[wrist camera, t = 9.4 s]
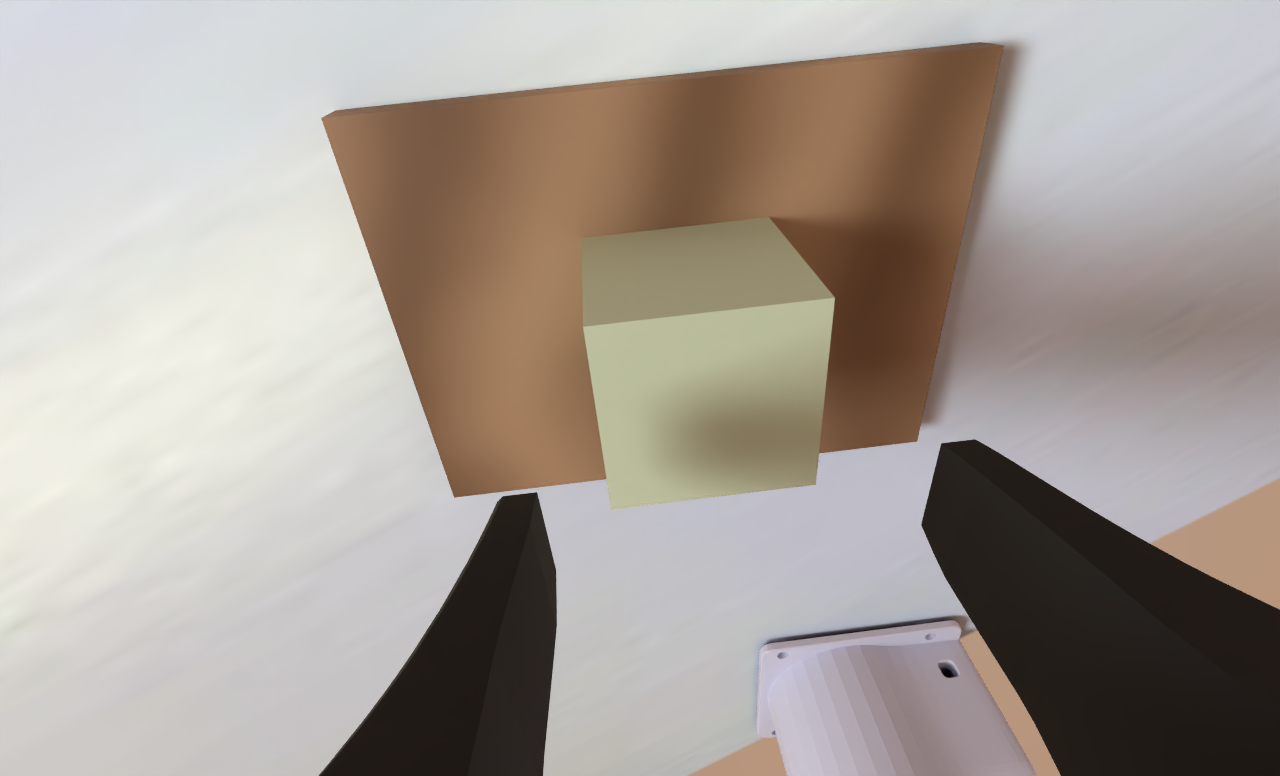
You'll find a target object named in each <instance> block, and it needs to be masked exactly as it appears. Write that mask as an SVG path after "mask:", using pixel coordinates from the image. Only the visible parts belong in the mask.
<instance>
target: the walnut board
mask: <svg viewBox="0 0 1280 776" xmlns="http://www.w3.org/2000/svg"><path fill="white" fill-rule="evenodd" d="M1002 51H1003V46H1001V45H994V44H987V43H981V42H980V43H970V44H961V45H952V46H942V47H933V48H923V49H914V50H904V51H895V52H885V53H876V54H866V55H857V56H847V57H838V58H829V59H819V60H810V61H800V62H791V63H781V64H772V65H762V66H753V67H743V68H734V69H725V70H715V71H706V72H696V73H687V74H677V75H668V76H658V77H649V78H639V79H630V80H621V81H611V82H602V83H592V84H583V85H573V86H564V87H554V88H545V89H535V90H526V91H516V92H507V93H498V94H488V95H479V96H469V97H460V98H450V99H441V100H431V101H422V102H412V103H403V104H394V105H384V106H375V107H365V108H356V109H346V110H337V111H334V112H332V113H330V114H328V115H326V116H325V117H323V118H322V121H323V124H324V127H325V130H326V133H327V136H328V138H329V141H330V144H331V147H332V150H333V153H334V156H335V158H336V161H337V164H338V167H339V170H340V173H341V176H342V178H343V181H344V184H345V187H346V190H347V193H348V195H349V198H350V201H351V204H352V207H353V210H354V213H355V215H356V218H357V221H358V224H359V227H360V230H361V233H362V235H363V238H364V241H365V244H366V247H367V250H368V253H369V255H370V258H371V261H372V264H373V267H374V270H375V273H376V275H377V278H378V281H379V284H380V287H381V290H382V293H383V295H384V298H385V301H386V304H387V307H388V310H389V312H390V315H391V318H392V321H393V324H394V327H395V330H396V332H397V335H398V338H399V341H400V344H401V347H402V350H403V352H404V355H405V358H406V361H407V364H408V367H409V370H410V372H411V375H412V378H413V381H414V384H415V387H416V390H417V392H418V395H419V398H420V401H421V404H422V407H423V410H424V412H425V415H426V418H427V421H428V424H429V427H430V429H431V432H432V435H433V438H434V441H435V444H436V447H437V449H438V452H439V455H440V458H441V461H442V464H443V467H444V469H445V472H446V475H447V478H448V481H449V484H450V487H451V489H452V492H453V495H454V497H462V496H470V495H478V494H487V493H495V492H503V491H511V490H520V489H528V488H536V487H544V486H553V485H561V484H569V483H578V482H586V481H594V480H602V479H607V478H606V472H605V465H604V459H603V452H602V446H601V439H600V433H599V427H598V420H597V414H596V407H595V401H594V394H593V388H592V381H591V375H590V369H589V362H588V356H587V349H586V343H585V336H584V330H583V290H582V238H588V237H597V236H606V235H614V234H623V233H632V232H641V231H650V230H659V229H668V228H677V227H686V226H695V225H704V224H713V223H721V222H730V221H739V220H748V219H757V218H766V217H769V218H770V219H771V220H772V221H773V223H774V224H775V225H776V226H777V228H778V229H779V230H780V231H781V232H782V234H783V235H784V236H785V237H786V239H787V240H788V241H789V242H790V243H791V245H792V246H793V247H794V248H795V250H796V251H797V252H798V253H799V254H800V256H801V257H802V258H803V259H804V260H805V262H806V263H807V264H808V265H809V267H810V268H811V269H812V270H813V271H814V273H815V274H816V275H817V276H818V278H819V279H820V280H821V281H822V282H823V284H824V285H825V286H826V287H827V289H828V290H829V291H830V292H831V293H832V295H833V296H834V297H835V302H834V312H833V322H832V331H831V341H830V351H829V360H828V370H827V380H826V389H825V399H824V409H823V418H822V428H821V438H820V447H819V453H825V452H834V451H842V450H850V449H858V448H867V447H875V446H883V445H891V444H900V443H908V442H916V441H917V440H918V435H919V430H920V426H921V421H922V417H923V412H924V407H925V403H926V398H927V394H928V389H929V385H930V380H931V375H932V371H933V366H934V362H935V357H936V353H937V348H938V343H939V339H940V334H941V330H942V325H943V321H944V316H945V311H946V307H947V302H948V298H949V293H950V289H951V284H952V279H953V275H954V270H955V266H956V261H957V256H958V252H959V247H960V243H961V238H962V234H963V229H964V224H965V220H966V215H967V211H968V206H969V202H970V197H971V192H972V188H973V183H974V179H975V174H976V170H977V165H978V160H979V156H980V151H981V147H982V142H983V137H984V133H985V128H986V124H987V119H988V115H989V110H990V105H991V101H992V96H993V92H994V87H995V83H996V78H997V73H998V69H999V64H1000V60H1001V55H1002Z"/></svg>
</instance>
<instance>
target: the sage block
mask: <svg viewBox="0 0 1280 776" xmlns="http://www.w3.org/2000/svg"><path fill="white" fill-rule="evenodd" d="M582 290H583V330H584V336H585V343H586V349H587V356H588V362H589V369H590V375H591V381H592V388H593V394H594V401H595V407H596V414H597V420H598V427H599V433H600V439H601V446H602V452H603V459H604V465H605V472H606V478H607V485H608V491H609V498H610V504H611V510H612V509H620V508H628V507H636V506H644V505H653V504H661V503H669V502H677V501H685V500H693V499H701V498H710V497H718V496H726V495H734V494H742V493H750V492H759V491H767V490H775V489H783V488H791V487H799V486H808V485H816V476H817V467H818V457H819V447H820V438H821V428H822V418H823V409H824V399H825V389H826V380H827V370H828V360H829V351H830V341H831V331H832V322H833V312H834V302H835V297H834V296H833V295H832V293H831V292H830V291H829V290H828V289H827V287H826V286H825V285H824V284H823V282H822V281H821V280H820V279H819V278H818V276H817V275H816V274H815V273H814V271H813V270H812V269H811V268H810V267H809V265H808V264H807V263H806V262H805V260H804V259H803V258H802V257H801V256H800V254H799V253H798V252H797V251H796V250H795V248H794V247H793V246H792V245H791V243H790V242H789V241H788V240H787V239H786V237H785V236H784V235H783V234H782V232H781V231H780V230H779V229H778V228H777V226H776V225H775V224H774V223H773V221H772V220H771V219H770V218H769V217H766V218H757V219H748V220H739V221H730V222H721V223H713V224H704V225H695V226H686V227H677V228H668V229H659V230H650V231H641V232H632V233H623V234H614V235H606V236H597V237H588V238H582Z"/></svg>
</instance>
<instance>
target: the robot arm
mask: <svg viewBox="0 0 1280 776" xmlns="http://www.w3.org/2000/svg"><path fill="white" fill-rule="evenodd" d="M921 525H922V528H923V530H924V532H925V534H926V537H927V539H928V541H929V544H930V546H931V548H932V551H933V553H934V555H935V557H936V559H937V561H938V563H939V565H940V568H941V570H942V572H943V574H944V576H945V578H946V579H947V581H948V583H949V584H950V586H951V588H952V589H953V591H954V593H955V594H956V596H957V598H958V599H959V601H960V602H961V604H962V606H963V607H964V609H965V611H966V612H967V614H968V615H969V617H970V619H971V620H972V622H973V623H974V625H975V627H976V628H977V630H978V631H979V633H980V635H981V636H982V638H983V639H984V641H985V643H986V644H987V646H988V647H989V649H990V651H991V652H992V654H993V655H994V657H995V658H996V660H997V661H998V663H999V665H1000V666H1001V668H1002V670H1003V671H1004V673H1005V674H1006V676H1007V678H1008V679H1009V681H1010V682H1011V684H1012V685H1013V687H1014V689H1015V690H1016V692H1017V693H1018V695H1019V697H1020V699H1021V700H1022V702H1023V704H1024V706H1025V707H1026V709H1027V711H1028V713H1029V714H1030V716H1031V718H1032V720H1033V721H1034V723H1035V725H1036V727H1037V729H1038V731H1039V733H1040V735H1041V737H1042V739H1043V741H1044V743H1045V745H1046V747H1047V749H1048V751H1049V753H1050V754H1051V757H1052V759H1053V760H1054V763H1055V765H1056V767H1057V769H1058V771H1059V773H1060V775H1061V776H1280V610H1279V609H1277V608H1275V607H1273V606H1271V605H1269V604H1266V603H1264V602H1262V601H1260V600H1258V599H1256V598H1254V597H1252V596H1250V595H1248V594H1246V593H1243V592H1242V591H1240V590H1237V589H1236V588H1233V587H1231V586H1229V585H1227V584H1225V583H1223V582H1221V581H1219V580H1217V579H1215V578H1213V577H1211V576H1209V575H1207V574H1205V573H1203V572H1201V571H1199V570H1197V569H1195V568H1194V567H1192V566H1190V565H1188V564H1186V563H1184V562H1182V561H1180V560H1178V559H1177V558H1175V557H1173V556H1171V555H1169V554H1168V553H1166V552H1164V551H1162V550H1160V549H1158V548H1157V547H1155V546H1153V545H1151V544H1149V543H1148V542H1146V541H1144V540H1142V539H1140V538H1138V537H1137V536H1135V535H1133V534H1131V533H1130V532H1128V531H1126V530H1125V529H1123V528H1121V527H1119V526H1118V525H1116V524H1114V523H1112V522H1111V521H1109V520H1107V519H1106V518H1104V517H1102V516H1101V515H1099V514H1097V513H1095V512H1094V511H1092V510H1091V509H1089V508H1087V507H1086V506H1084V505H1082V504H1081V503H1079V502H1077V501H1076V500H1074V499H1072V498H1071V497H1069V496H1067V495H1066V494H1064V493H1063V492H1061V491H1059V490H1058V489H1056V488H1054V487H1053V486H1051V485H1050V484H1048V483H1046V482H1045V481H1043V480H1042V479H1040V478H1038V477H1037V476H1035V475H1034V474H1032V473H1030V472H1029V471H1027V470H1025V469H1024V468H1022V467H1021V466H1019V465H1017V464H1016V463H1014V462H1013V461H1011V460H1009V459H1008V458H1006V457H1004V456H1003V455H1001V454H999V453H998V452H996V451H994V450H993V449H991V448H989V447H988V446H986V445H984V444H982V443H981V442H979V441H977V440H967V441H958V442H950V443H942V444H941V447H940V451H939V455H938V459H937V463H936V467H935V471H934V475H933V480H932V484H931V488H930V492H929V496H928V500H927V504H926V508H925V512H924V516H923V520H922V524H921ZM556 627H557V604H556V568H555V564H554V560H553V556H552V552H551V548H550V544H549V540H548V536H547V531H546V527H545V523H544V519H543V515H542V511H541V507H540V503H539V499H538V495H537V492H536V493H528V494H520V495H511V496H503V497H502V498H501V499H500V500H499V501H498V502H497V504H496V506H495V508H494V510H493V513H492V515H491V517H490V519H489V521H488V523H487V525H486V527H485V529H484V531H483V533H482V535H481V537H480V539H479V541H478V543H477V545H476V547H475V549H474V551H473V553H472V554H471V556H470V558H469V560H468V562H467V564H466V566H465V567H464V569H463V571H462V573H461V574H460V576H459V578H458V580H457V581H456V583H455V585H454V587H453V588H452V590H451V592H450V594H449V595H448V597H447V599H446V601H445V602H444V604H443V606H442V607H441V609H440V611H439V612H438V614H437V615H436V617H435V618H434V620H433V622H432V623H431V625H430V626H429V628H428V629H427V631H426V633H425V634H424V636H423V637H422V639H421V640H420V642H419V643H418V645H417V647H416V648H415V650H414V651H413V653H412V654H411V656H410V657H409V659H408V660H407V662H406V663H405V664H404V666H403V667H402V669H401V670H400V672H399V673H398V675H397V676H396V677H395V679H394V680H393V682H392V683H391V684H390V686H389V687H388V689H387V690H386V691H385V693H384V694H383V695H382V697H381V698H380V699H379V701H378V702H377V703H376V705H375V706H374V707H373V709H372V710H371V711H370V713H369V714H368V715H367V717H366V718H365V719H364V721H363V722H362V723H361V724H360V726H359V727H358V728H357V729H356V731H355V732H354V733H353V734H352V735H351V737H350V738H349V739H348V740H347V742H346V743H345V744H344V745H343V747H342V748H341V749H340V750H339V752H338V753H337V754H336V755H335V757H334V758H333V759H332V760H331V762H330V763H329V764H328V765H327V766H326V768H325V769H324V770H323V771H322V772H321V773H320V775H319V776H543V765H544V751H545V741H546V731H547V721H548V711H549V701H550V691H551V680H552V670H553V660H554V649H555V638H556ZM961 632H962V629H961V627H960V625H959V624H958V622H956V621H953V620H949V621H941V622H933V623H925V624H917V625H910V626H902V627H894V628H886V629H878V630H871V631H863V632H855V633H847V634H839V635H832V636H824V637H816V638H808V639H800V640H793V641H785V642H777V643H770V644H766V645H764V646H763V647H762V648H761V649H760V653H759V676H758V699H757V722H756V729H757V733H758V736H759V737H761V738H771V737H777V740H778V744H779V748H780V751H781V755H782V759H783V763H784V766H785V770H786V774H787V776H1037V775H1036V773H1035V771H1034V769H1033V767H1032V765H1031V763H1030V761H1029V759H1028V757H1027V756H1026V754H1025V753H1024V751H1023V749H1022V747H1021V745H1020V744H1019V742H1018V740H1017V738H1016V737H1015V735H1014V733H1013V732H1012V730H1011V728H1010V727H1009V725H1008V723H1007V721H1006V720H1005V718H1004V716H1003V714H1002V713H1001V711H1000V709H999V708H998V706H997V704H996V702H995V701H994V699H993V697H992V695H991V694H990V692H989V690H988V689H987V687H986V685H985V684H984V682H983V680H982V678H981V677H980V675H979V673H978V671H977V670H976V668H975V666H974V664H973V663H972V661H971V659H970V658H969V656H968V654H967V652H966V651H965V649H964V647H963V646H962V644H961V642H960V640H959V638H960V635H961Z"/></svg>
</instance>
